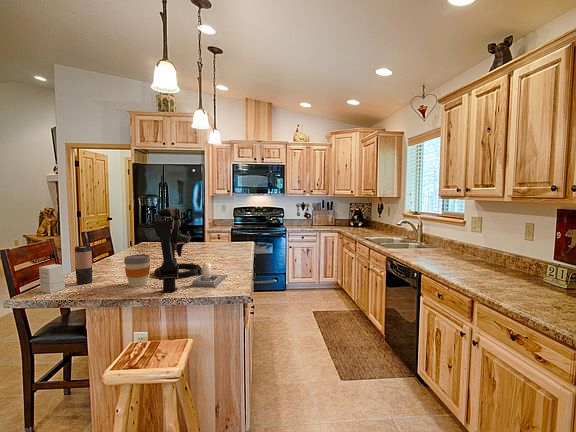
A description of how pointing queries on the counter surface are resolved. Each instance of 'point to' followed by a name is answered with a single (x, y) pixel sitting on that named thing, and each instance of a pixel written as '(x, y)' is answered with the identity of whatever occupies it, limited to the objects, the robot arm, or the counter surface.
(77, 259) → the travel mug
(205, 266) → the light bulb lamp
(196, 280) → the holder dock
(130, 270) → the reusable coffee cup
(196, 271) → the cable lock
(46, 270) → the supplement box
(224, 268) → the counter surface
